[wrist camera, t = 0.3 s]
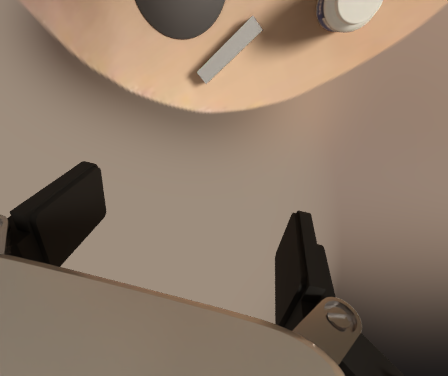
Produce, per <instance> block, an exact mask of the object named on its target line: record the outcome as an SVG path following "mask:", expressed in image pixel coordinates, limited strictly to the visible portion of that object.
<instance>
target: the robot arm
mask: <svg viewBox="0 0 448 376" xmlns="http://www.w3.org/2000/svg"><path fill="white" fill-rule="evenodd" d="M10 214H11V216H10V217H9V218H6V217H5V216H3V215H0V376H404V375H403V374H402V373H401V372H400V371H399V370H398V369H397V368H396V367H395V366H394V365H393V364H392V363H391V362H390V361H389V360H388V359H387V358H386V357H385V356H384V355H383V354H382V353H381V352H380V351H379V350H378V349H377V348H376V347H375V346H374V345H373V344H372V343H371V342H370V341H369V340H368V339H367V338H366V337H364V335H363V334H361V330H362V323H361V320H360V317H359V315H358V314H357V312H356V311H355V310H354V309H353V308H352V306H350V305H349V304H348V303H347V302H345V301H344V300H341V299H339V298H336V297H335V293H334V289H333V284H332V280H331V276H330V271H329V267H328V263H327V258H326V254H325V250H324V247H323V246H322V245H318V244H317V242H316V237H315V232H314V227H313V222H312V217H311V214H310V213H306V212H302V211H297V213H293V214H292V215H291V217H290V220H289V222H288V225H287V227H286V230H285V232H284V235H283V237H282V240H281V242H280V244H279V247H278V250H277V252H276V256H275V304H276V305H275V310H276V311H275V312H276V313H275V316H276V324H273V323H270V322H267V321H264V320H261V319H258V318H255V317H251V316H247V315H243V314H240V313H237V312H233V311H229V310H226V309H222V308H218V307H214V306H211V305H207V304H203V303H199V302H195V301H192V300H188V299H184V298H180V297H176V296H172V295H168V294H164V293H160V292H157V291H153V290H148V289H145V288H141V287H137V286H133V285H129V284H126V283H121V282H118V281H114V280H110V279H106V278H102V277H98V276H94V275H90V274H86V273H82V272H77V271H74V270H70V269H66V268H62V267H60V266H61V265H62V264H63V263H64V261H65V260H66V259H67V258H68V257H69V256H70V255H71V254H72V253H73V252H74V250H75V249H76V248H77V247H78V246H79V245H80V244H81V242H83V240H84V239H85V238H86V237H87V236H88V235H89V234H90V233H91V232H92V230H93V229H94V228H95V227H96V226H97V225H98V224H99V223H100V221H101V220H102V219H103V218H104V217H105V214H106V206H105V199H104V192H103V184H102V176H101V170H100V168H98V166H97V165H96V164H94V163H89V162H85V161H84V162H81V163H79V164H78V165H77V166H75V167H74V168H72V169H71V170H69V171H68V172H66V173H65V174H64V175H62V176H61V177H59V178H58V179H56V180H55V181H53V182H52V183H51V184H49V185H48V186H46V187H45V188H43V189H42V190H40V191H39V192H37V193H36V194H35V195H33V196H32V197H30V198H29V199H27V200H26V201H24V202H23V203H22V204H20V205H19V206H17V207H16V208H14V209H13V210H12V211H10Z"/></svg>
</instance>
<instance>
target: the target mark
mask: <svg viewBox="0 0 448 376" xmlns="http://www.w3.org/2000/svg"><path fill="white" fill-rule="evenodd" d="M224 2H225V0H136V3H137V5H138V7H139V9H140V11H141V13H142V14H143V15H144V17H145V18H146V20H147V21H148V22H149V23H150V24H151V25H152V26H153V27H154V28H155V29H156V30H158V31H159V32H160V33H162V34H164V35H166V36H169V37H171V38H176V39H190V38H193V37H196V36H198V35H201V34H202V33H204V32H205V31H206V30H208V29H209V28H210V27H211V26H212V25H213V23H214V22H215V21H216V19H217V18H218V16H219V14H220V12H221V10H222V8H223V5H224Z"/></svg>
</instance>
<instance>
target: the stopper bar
mask: <svg viewBox="0 0 448 376" xmlns="http://www.w3.org/2000/svg"><path fill="white" fill-rule="evenodd" d="M261 31H263V29H262V28H261V26H260V25H259V23H258V22H257V20H256V19H255V17H254V16H252V17H251V18H250V19H249V20H248V21H247V22H246V23H245V24H244V25H243V26H242V27H241V28H240V29H239V30H238V31H237V32H236V33H235V34H234V35H233V36H232V37H231V38H230V39H229V40H228V41H227V42H226V43H225V44H224V45H223V46H222V47H221V48H220V49H219V50H218V51H217V52H216V53H215V54H214V55H213V56H212V57H211V58H210V59H209V60H208V61H207V62H206V63H205V64H204V65H203V66H202V67H201V68H200V69H199V70H198V71H197V73H198V75H199V76H200V77H201V78H202V80H203V81H204V82H205V83H206V84H207V83H208V82H209V81H210V80H211V79H212V78H213V77H214V76H216V75H217V74H218V73H219V72H220V71H221V70H222V69H223V68H224V67H225V66H226V65H227V64H228V63H229V62H230V61H231V60H232V59H233V58H234V57H235V56H236V55H237V54H238V53H240V52H241V51H242V50H243V49H244V48H245V47H246V46H247V45H248V44H249V43H250V42H251V41H252V40H253V39H254V38H255V37H256V36H257V35H258V34H259V33H260V32H261Z"/></svg>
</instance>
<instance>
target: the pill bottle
mask: <svg viewBox="0 0 448 376" xmlns="http://www.w3.org/2000/svg"><path fill="white" fill-rule="evenodd" d="M382 1H383V0H318V1H317V6H316V17H317V20H318V22H319V24H320V25H321V26H322V27H323V28H324V29H326V30H328V31H332V32H351V31H355V30H357V29H359V28H361V27H363V26H364V25H365V24H366V23H368V22H369V21H370V19H371V18H372V17H373V16H374V14H375V13H376V12H377V10H378V9H379V7H380V6H381V4H382Z"/></svg>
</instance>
